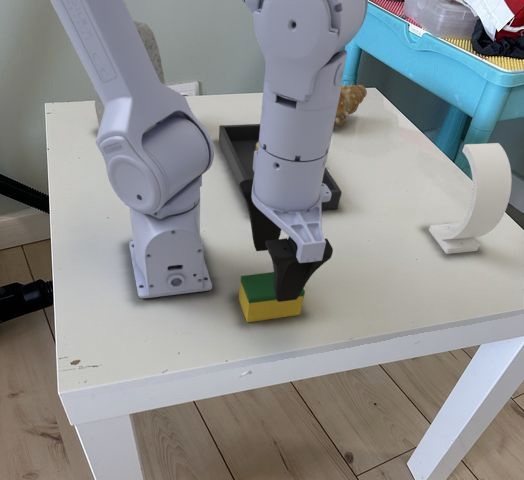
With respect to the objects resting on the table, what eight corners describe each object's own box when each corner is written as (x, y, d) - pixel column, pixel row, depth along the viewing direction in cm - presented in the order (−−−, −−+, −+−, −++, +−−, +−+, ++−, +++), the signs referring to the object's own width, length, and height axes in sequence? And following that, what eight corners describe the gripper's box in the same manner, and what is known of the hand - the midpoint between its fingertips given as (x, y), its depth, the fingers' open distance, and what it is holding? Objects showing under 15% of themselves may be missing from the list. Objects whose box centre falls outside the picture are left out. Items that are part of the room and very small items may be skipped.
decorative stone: (155, 113, 81) (147, 4, 69) (176, 128, 78) (172, 18, 67) (93, 129, 75) (75, 15, 64) (114, 146, 73) (99, 30, 61)
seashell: (313, 124, 90) (349, 72, 85) (341, 152, 87) (379, 100, 82) (283, 110, 83) (319, 52, 78) (311, 140, 80) (352, 82, 75)
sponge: (290, 293, 56) (294, 269, 54) (300, 315, 54) (305, 291, 52) (238, 299, 55) (240, 275, 52) (246, 322, 53) (249, 298, 50)
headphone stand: (458, 227, 68) (498, 143, 59) (481, 256, 64) (528, 170, 55) (428, 230, 67) (464, 144, 58) (449, 259, 63) (492, 172, 54)
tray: (337, 209, 68) (341, 191, 66) (251, 216, 65) (253, 198, 63) (293, 139, 80) (296, 122, 77) (218, 142, 76) (219, 125, 74)
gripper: (375, 189, 37) (337, 317, 47) (310, 101, 46) (290, 225, 56) (285, 197, 35) (266, 328, 45) (235, 104, 44) (229, 231, 54)
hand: (275, 272), depth 51 cm, fingers open, 7 cm apart
